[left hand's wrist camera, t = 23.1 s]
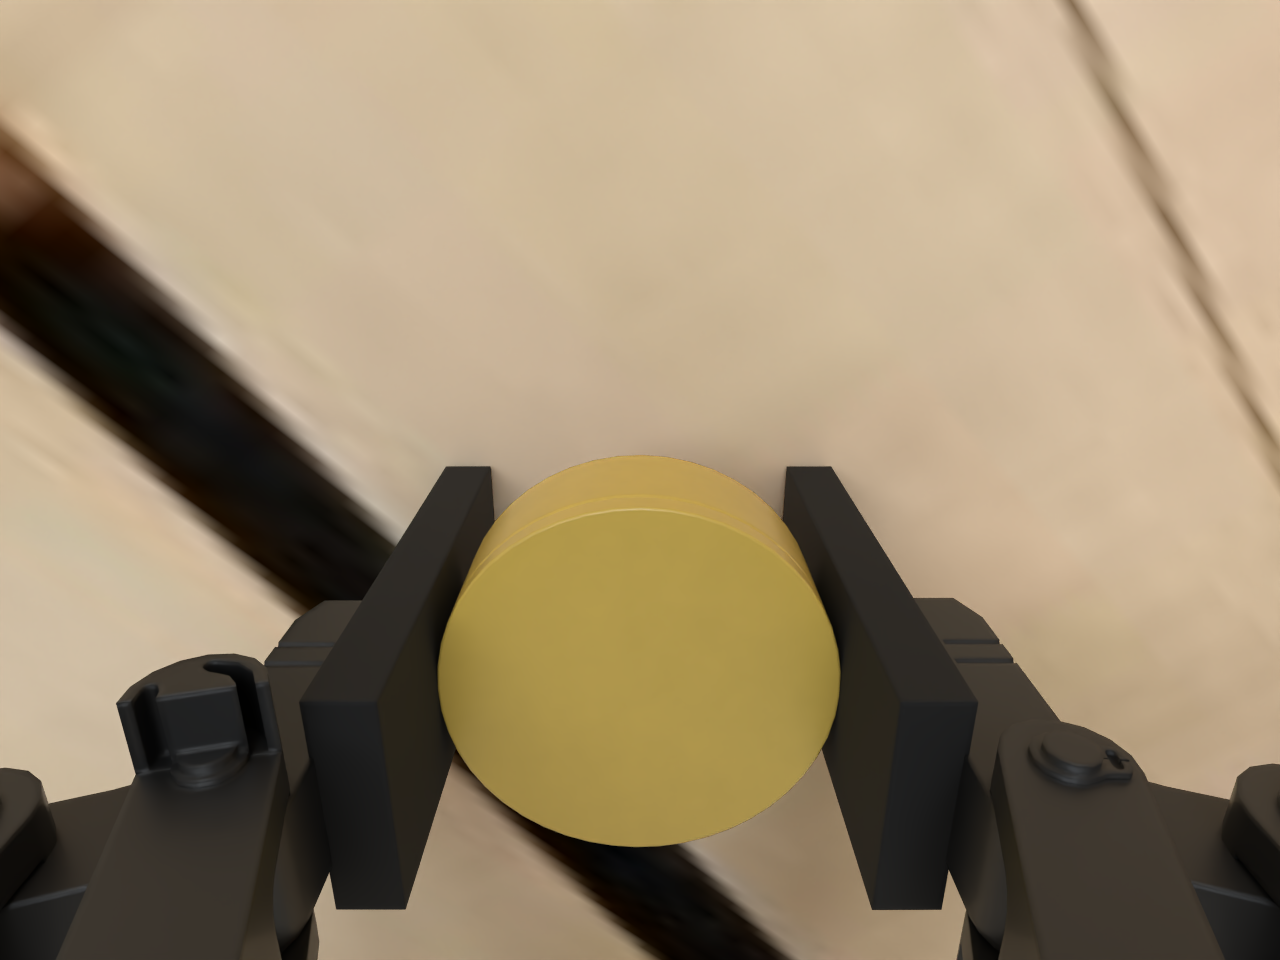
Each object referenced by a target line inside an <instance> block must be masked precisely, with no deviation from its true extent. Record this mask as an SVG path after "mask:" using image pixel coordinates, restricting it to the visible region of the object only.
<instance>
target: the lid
mask: <svg viewBox="0 0 1280 960" xmlns="http://www.w3.org/2000/svg"><path fill="white" fill-rule="evenodd" d="M437 675H438V693H439V700H440V706H441V711H442V714H443V717H444V720H445V723H446V726H447V729H448V732H449V734H450V736H451V738H452V740H453V742H454V744H455V746H456V749H457V751H458V752H459V754H460V755H461V757H462V758H463V760H464V761H465V763H466V764H467V766H468V767H469V769H470V770H471V771H472V772H473V774H474V775H475V776H476V777H477V778H478V779H479V780H480V781H481V782H482V784H483V785H484V786H485V787H486V788H487V789H488V790H489V791H491V792H492V793H493V794H494V795H495V796H496V797H498V798H499V799H500V800H501V801H502V802H503V803H505V804H506V805H508V806H509V807H511V808H512V809H514V810H515V811H517V812H518V813H519V814H521V815H522V816H524V817H526V818H528V819H530V820H532V821H534V822H536V823H538V824H540V825H541V826H543V827H546V828H549V829H551V830H554V831H556V832H559V833H561V834H564V835H567V836H570V837H574V838H578V839H581V840H585V841H589V842H595V843H601V844H607V845H614V846H630V847H647V846H664V845H671V844H678V843H685V842H689V841H693V840H697V839H701V838H705V837H709V836H711V835H714V834H717V833H720V832H723V831H725V830H728V829H731V828H733V827H735V826H737V825H739V824H741V823H743V822H745V821H747V820H749V819H751V818H753V817H754V816H756V815H757V814H759V813H760V812H762V811H764V810H765V809H767V808H768V807H770V806H771V805H772V804H774V803H775V802H776V801H777V800H779V799H780V798H781V797H782V796H783V795H785V794H786V793H787V792H788V791H789V790H790V789H791V788H792V787H793V786H794V785H795V784H796V783H797V782H798V781H799V780H800V779H801V778H802V777H803V776H804V774H805V773H806V771H807V770H808V769H809V767H810V766H811V765H812V763H813V762H814V761H815V759H816V758H817V756H818V754H819V752H820V751H821V749H822V747H823V745H824V743H825V741H826V739H827V738H828V735H829V732H830V729H831V727H832V724H833V721H834V718H835V715H836V710H837V705H838V700H839V693H840V678H841V669H840V660H839V651H838V646H837V642H836V639H835V635H834V632H833V628H832V625H831V623H830V620H829V618H828V615H827V613H826V610H825V608H824V605H823V603H822V600H821V598H820V596H819V593H818V591H817V588H816V586H815V583H814V581H813V578H812V576H811V573H810V571H809V568H808V566H807V563H806V561H805V559H804V557H803V554H802V552H801V550H800V548H799V545H798V543H797V542H796V540H795V538H794V537H793V535H792V534H791V532H790V531H789V529H788V527H787V526H786V524H785V523H784V522H783V521H782V520H781V519H780V517H779V516H778V515H777V514H776V513H775V512H774V510H773V509H772V508H771V507H770V506H769V505H767V504H766V503H765V502H764V501H763V500H762V499H761V498H759V497H758V496H757V495H756V494H755V493H754V492H752V491H751V490H749V489H748V488H746V487H745V486H743V485H742V484H740V483H739V482H737V481H736V480H734V479H732V478H730V477H728V476H725V475H723V474H721V473H719V472H717V471H715V470H713V469H710V468H707V467H704V466H701V465H698V464H695V463H692V462H689V461H684V460H679V459H674V458H669V457H660V456H647V455H635V456H616V457H611V458H605V459H599V460H593V461H590V462H587V463H583V464H580V465H577V466H574V467H570V468H568V469H566V470H564V471H561V472H559V473H557V474H555V475H552V476H550V477H548V478H547V479H545V480H543V481H542V482H540V483H538V484H537V485H535V486H534V487H532V488H530V489H529V490H527V491H526V492H525V493H524V494H523V495H521V496H520V497H519V498H518V499H517V500H515V501H514V502H513V503H512V504H511V505H510V506H509V507H508V508H507V509H506V510H505V511H504V512H503V513H502V514H501V515H500V517H499V518H498V519H497V520H496V521H495V523H494V524H493V525H492V527H491V528H490V530H489V531H488V533H487V534H486V536H485V537H484V539H483V541H482V543H481V545H480V547H479V549H478V551H477V553H476V555H475V557H474V559H473V562H472V564H471V567H470V569H469V571H468V574H467V576H466V579H465V581H464V583H463V586H462V588H461V591H460V593H459V595H458V598H457V600H456V603H455V605H454V608H453V610H452V612H451V615H450V617H449V619H448V622H447V625H446V628H445V631H444V635H443V638H442V641H441V645H440V652H439V659H438V665H437Z"/></svg>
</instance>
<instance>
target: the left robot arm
mask: <svg viewBox="0 0 1280 960" xmlns="http://www.w3.org/2000/svg"><path fill="white" fill-rule="evenodd" d="M783 522H784V523H785V524H786V526H787V527H788V529H789V531H790V532H791V534H792V535H793V537H794V538H795V540H796V542H797V543H798V545H799V548H800V550H801V552H802V554H803V557H804V559H805V561H806V563H807V566H808V568H809V571H810V573H811V576H812V578H813V581H814V583H815V586H816V588H817V591H818V593H819V596H820V598H821V600H822V603H823V605H824V608H825V610H826V613H827V615H828V618H829V620H830V623H831V625H832V628H833V632H834V635H835V639H836V642H837V646H838V651H839V660H840V669H841V678H840V693H839V700H838V705H837V710H836V715H835V718H834V721H833V724H832V727H831V729H830V732H829V735H828V738H827V739H826V741H825V743H824V745H823V747H822V751H823V754H824V757H825V761H826V764H827V767H828V770H829V773H830V776H831V780H832V783H833V786H834V789H835V792H836V796H837V799H838V802H839V805H840V808H841V812H842V815H843V818H844V821H845V824H846V828H847V831H848V834H849V837H850V840H851V844H852V847H853V850H854V853H855V856H856V860H857V863H858V866H859V869H860V872H861V876H862V879H863V882H864V885H865V888H866V892H867V895H868V898H869V901H870V904H871V908H872V910H941V909H942V903H943V898H944V892H945V886H946V881H947V875H948V870H949V871H950V873H951V876H952V878H953V880H954V883H955V885H956V887H957V889H958V892H959V894H960V896H961V899H962V901H963V903H964V905H965V908H966V914H965V919H964V924H963V929H962V934H961V939H960V944H959V950H958V955H957V960H1280V765H1279V764H1267V765H1260V766H1253V767H1249V768H1248V769H1247V770H1245V771H1244V772H1243V773H1242V774H1240V775H1239V776H1238V777H1237V780H1236V783H1235V786H1234V789H1233V792H1232V795H1231V798H1230V800H1228V799H1223V798H1218V797H1214V796H1209V795H1204V794H1199V793H1195V792H1190V791H1185V790H1180V789H1176V788H1171V787H1166V786H1162V785H1159V784H1155V783H1151V782H1148V781H1147V778H1146V776H1145V774H1144V772H1143V771H1142V770H1141V768H1140V767H1139V765H1138V764H1137V763H1136V761H1135V760H1134V758H1133V757H1132V756H1131V755H1130V754H1129V753H1127V752H1126V751H1125V750H1123V749H1122V748H1121V747H1119V746H1118V745H1117V744H1115V743H1114V742H1113V741H1111V740H1110V739H1108V738H1106V737H1104V736H1102V735H1099V734H1097V733H1095V732H1093V731H1091V730H1089V729H1087V728H1084V727H1081V726H1077V725H1073V724H1069V723H1065V722H1061V721H1060V720H1059V719H1058V717H1057V716H1056V715H1055V713H1054V712H1053V711H1052V709H1051V708H1050V707H1049V705H1048V704H1047V703H1046V701H1045V700H1044V699H1043V697H1042V696H1041V695H1040V693H1039V692H1038V691H1037V689H1036V688H1035V687H1034V685H1033V684H1032V683H1031V681H1030V680H1029V679H1028V677H1027V676H1026V675H1025V673H1024V672H1023V671H1022V669H1021V668H1020V667H1019V665H1018V664H1017V663H1014V662H1013V657H1012V656H1011V655H1010V653H1009V652H1008V651H1007V649H1006V648H1005V647H1004V645H1003V644H999V639H998V637H997V636H996V635H995V633H994V632H993V631H992V629H991V628H990V627H989V625H988V624H987V623H986V621H985V620H984V619H983V617H981V616H980V615H978V614H977V613H975V612H974V611H972V610H971V609H969V608H967V607H966V606H964V605H963V604H961V603H960V602H958V601H957V600H955V599H954V598H913V597H912V595H911V593H910V592H909V590H908V589H907V587H906V585H905V584H904V582H903V581H902V579H901V578H900V576H899V574H898V573H897V571H896V570H895V568H894V566H893V565H892V563H891V562H890V560H889V558H888V557H887V555H886V554H885V552H884V550H883V549H882V547H881V546H880V544H879V542H878V541H877V539H876V538H875V536H874V534H873V533H872V531H871V530H870V528H869V526H868V525H867V523H866V522H865V520H864V518H863V517H862V515H861V514H860V512H859V511H858V509H857V507H856V506H855V504H854V503H853V501H852V499H851V498H850V496H849V495H848V493H847V491H846V490H845V488H844V487H843V485H842V483H841V482H840V480H839V479H838V477H837V475H836V474H835V472H834V471H833V469H832V467H787V471H786V486H785V500H784V515H783ZM493 524H494V511H493V497H492V483H491V468H490V467H446V468H445V469H444V471H443V472H442V474H441V476H440V477H439V479H438V480H437V482H436V484H435V485H434V487H433V488H432V490H431V492H430V493H429V495H428V496H427V498H426V500H425V501H424V503H423V504H422V506H421V508H420V509H419V511H418V512H417V514H416V516H415V517H414V519H413V520H412V522H411V524H410V525H409V527H408V528H407V530H406V532H405V533H404V535H403V536H402V538H401V539H400V541H399V543H398V544H397V546H396V547H395V549H394V551H393V552H392V554H391V555H390V557H389V559H388V560H387V562H386V563H385V565H384V567H383V568H382V570H381V571H380V573H379V575H378V576H377V578H376V579H375V581H374V583H373V584H372V586H371V587H370V589H369V591H368V592H367V594H366V595H365V597H364V599H363V600H362V601H323V602H322V603H320V604H319V605H317V606H316V607H314V608H313V609H311V610H310V611H308V612H307V613H305V614H304V615H302V616H301V617H299V618H298V619H296V620H295V621H294V622H293V624H292V625H291V627H290V628H289V629H288V631H287V632H286V633H285V635H284V636H283V637H282V639H281V640H280V641H279V645H278V647H275V648H274V649H273V651H272V652H271V653H270V655H269V656H268V657H267V659H266V660H265V664H264V665H263V664H261V663H260V662H259V661H258V660H256V659H255V658H251V657H247V656H243V655H238V654H212V655H205V656H200V657H196V658H191V659H187V660H182V661H179V662H176V663H174V664H171V665H169V666H167V667H164V668H162V669H159V670H157V671H154V672H152V673H151V674H149V675H148V676H146V677H145V678H143V679H141V680H140V681H138V682H137V683H135V684H134V685H132V686H131V687H130V688H129V689H128V690H127V691H126V692H125V694H124V695H123V696H122V697H121V698H120V699H119V701H118V702H117V703H116V705H117V708H118V712H119V716H120V719H121V723H122V726H123V730H124V734H125V737H126V741H127V744H128V748H129V752H130V755H131V759H132V762H133V766H134V770H135V773H136V775H135V778H134V780H133V782H132V785H129V786H125V787H122V788H118V789H115V790H110V791H106V792H101V793H96V794H92V795H87V796H82V797H78V798H73V799H68V800H64V801H59V802H54V803H50V804H48V801H47V798H46V795H45V792H44V789H43V786H42V783H41V781H40V780H39V779H38V778H37V777H35V776H34V775H33V774H31V773H30V772H29V771H25V770H18V769H11V768H0V960H317V958H318V949H319V937H318V930H317V924H316V919H315V914H314V906H315V904H316V902H317V900H318V897H319V895H320V893H321V890H322V888H323V886H324V883H325V881H326V879H327V876H328V874H329V872H330V877H331V883H332V888H333V894H334V899H335V905H336V909H406V906H407V903H408V900H409V897H410V893H411V890H412V887H413V884H414V881H415V877H416V874H417V871H418V868H419V865H420V861H421V858H422V855H423V852H424V849H425V845H426V842H427V839H428V836H429V833H430V829H431V826H432V823H433V820H434V816H435V813H436V810H437V807H438V804H439V800H440V797H441V794H442V791H443V788H444V784H445V781H446V778H447V775H448V772H449V768H450V765H451V762H452V759H453V756H454V752H455V749H456V746H455V744H454V742H453V740H452V738H451V736H450V734H449V732H448V729H447V726H446V723H445V720H444V717H443V714H442V711H441V706H440V700H439V693H438V675H437V665H438V659H439V652H440V645H441V641H442V638H443V635H444V631H445V628H446V625H447V622H448V619H449V617H450V615H451V612H452V610H453V608H454V605H455V603H456V600H457V598H458V595H459V593H460V591H461V588H462V586H463V583H464V581H465V579H466V576H467V574H468V571H469V569H470V567H471V564H472V562H473V559H474V557H475V555H476V553H477V551H478V549H479V547H480V545H481V543H482V541H483V539H484V537H485V536H486V534H487V533H488V531H489V530H490V528H491V527H492V525H493Z"/></svg>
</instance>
